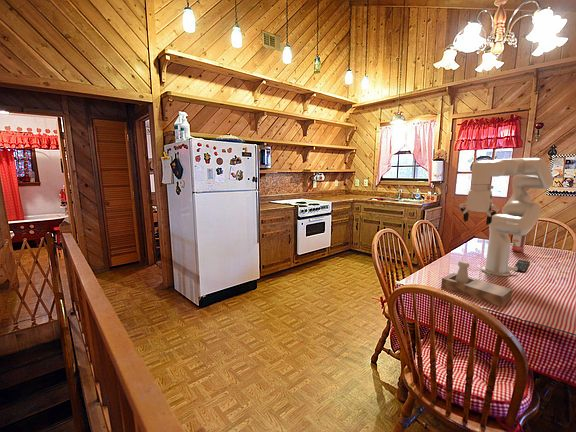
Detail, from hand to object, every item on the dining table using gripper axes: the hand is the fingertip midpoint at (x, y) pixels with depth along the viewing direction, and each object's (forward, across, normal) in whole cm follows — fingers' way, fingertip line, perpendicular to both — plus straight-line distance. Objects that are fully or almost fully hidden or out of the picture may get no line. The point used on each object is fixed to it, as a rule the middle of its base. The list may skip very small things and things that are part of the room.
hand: (476, 222), depth 142 cm
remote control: (+32, -10, -44) cm, 55 cm away
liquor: (+32, +1, -78) cm, 84 cm away
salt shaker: (+29, -2, +17) cm, 33 cm away
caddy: (+29, -8, +17) cm, 34 cm away
